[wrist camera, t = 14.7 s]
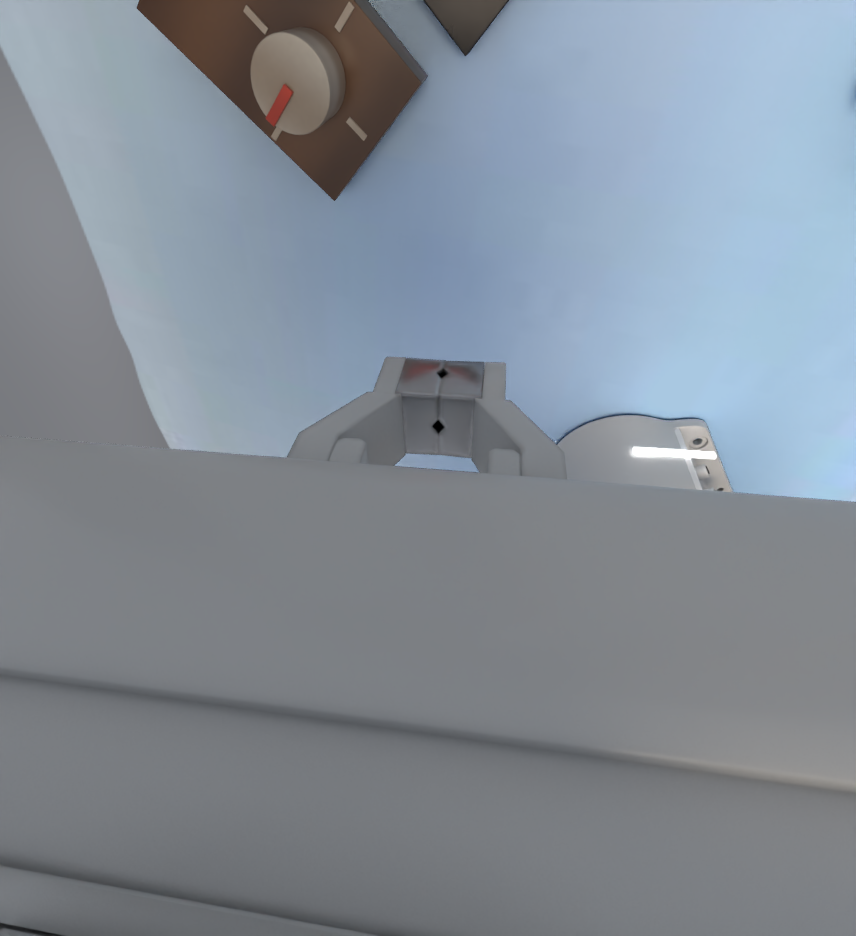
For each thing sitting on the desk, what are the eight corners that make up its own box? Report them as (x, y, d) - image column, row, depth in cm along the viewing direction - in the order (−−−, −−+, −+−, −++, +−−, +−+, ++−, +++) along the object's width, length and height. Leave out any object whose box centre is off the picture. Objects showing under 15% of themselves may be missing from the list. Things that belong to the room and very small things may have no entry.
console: (428, 75, 30) (421, 83, 28) (345, 188, 35) (333, 202, 33) (227, -175, 24) (198, -190, 22) (163, 5, 29) (134, 8, 27)
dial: (297, 4, 26) (272, 7, 23) (360, 75, 28) (344, 85, 25) (259, 79, 29) (234, 89, 26) (320, 139, 31) (301, 155, 28)
